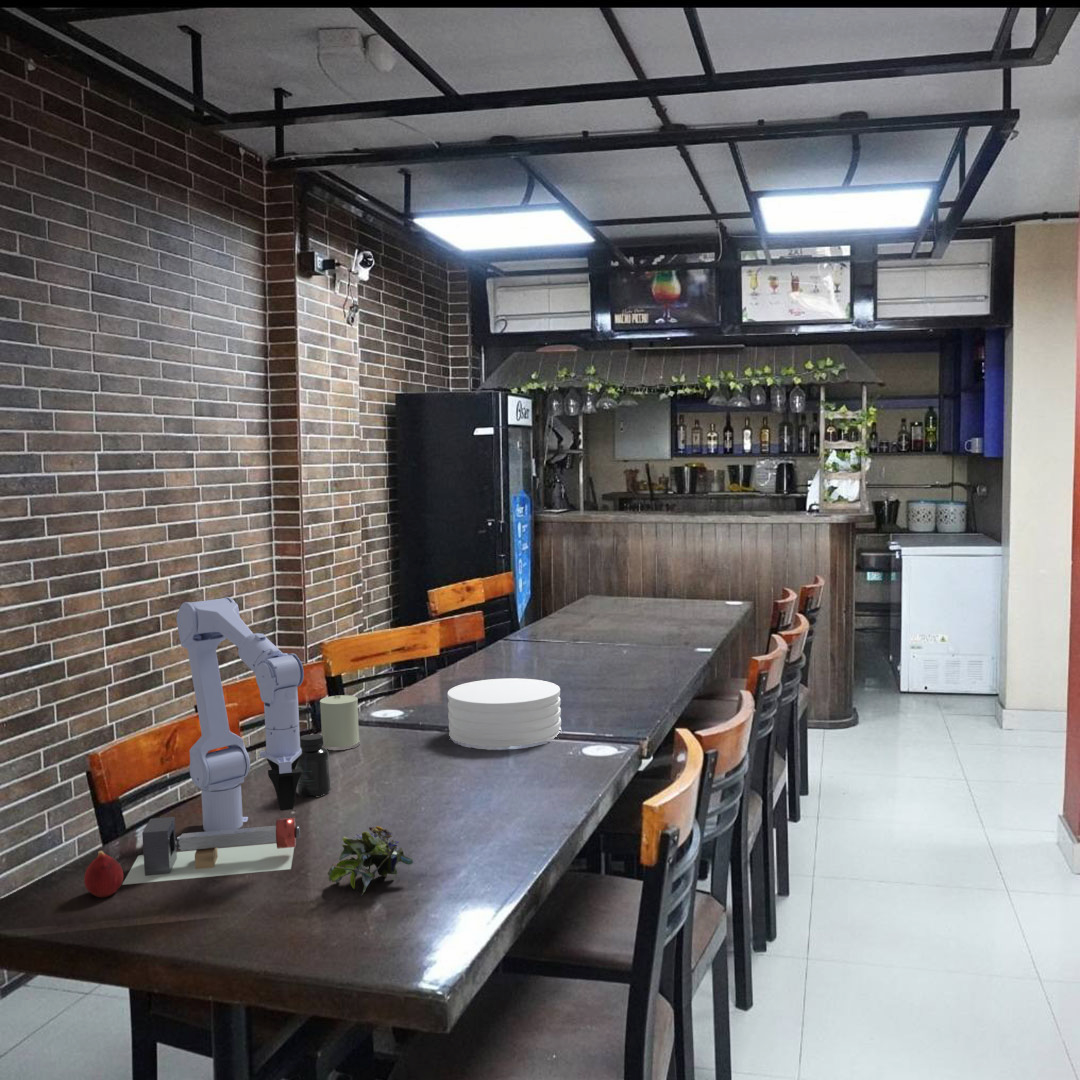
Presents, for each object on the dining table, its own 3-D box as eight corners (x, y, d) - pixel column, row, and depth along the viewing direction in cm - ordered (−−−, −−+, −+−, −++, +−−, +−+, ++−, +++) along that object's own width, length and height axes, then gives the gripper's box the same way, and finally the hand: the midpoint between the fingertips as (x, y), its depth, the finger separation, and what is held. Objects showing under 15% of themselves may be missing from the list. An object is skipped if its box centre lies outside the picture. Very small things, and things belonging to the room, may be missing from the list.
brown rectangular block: (199, 858, 183) (199, 844, 183) (217, 856, 184) (216, 842, 184) (195, 868, 178) (194, 854, 178) (213, 867, 179) (213, 853, 179)
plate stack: (583, 737, 259) (582, 691, 258) (486, 758, 243) (484, 709, 243) (521, 715, 282) (520, 673, 281) (429, 733, 267) (427, 689, 266)
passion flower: (383, 908, 175) (424, 849, 176) (363, 925, 165) (406, 862, 165) (331, 867, 178) (371, 808, 178) (307, 881, 167) (350, 818, 167)
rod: (177, 851, 183) (176, 823, 182) (301, 840, 186) (299, 813, 186) (172, 862, 178) (171, 833, 177) (299, 850, 181) (298, 822, 181)
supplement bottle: (314, 786, 226) (312, 731, 225) (337, 791, 222) (334, 735, 221) (290, 795, 220) (287, 738, 219) (312, 800, 216) (310, 743, 215)
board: (138, 861, 185) (138, 855, 185) (295, 847, 190) (295, 841, 190) (122, 890, 173) (122, 884, 173) (291, 874, 177) (290, 868, 177)
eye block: (152, 860, 183) (150, 818, 182) (176, 858, 184) (174, 816, 183) (144, 875, 176) (142, 832, 175) (169, 873, 177) (167, 830, 176)
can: (356, 739, 263) (354, 691, 262) (362, 748, 254) (360, 699, 253) (319, 743, 260) (317, 695, 259) (324, 752, 251) (321, 703, 250)
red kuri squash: (129, 891, 172) (126, 843, 172) (117, 906, 167) (113, 857, 166) (93, 892, 172) (90, 845, 172) (79, 907, 166) (76, 858, 166)
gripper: (257, 718, 188) (261, 792, 189) (258, 738, 174) (262, 818, 175) (298, 714, 189) (301, 788, 191) (302, 734, 176) (306, 813, 177)
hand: (286, 802), depth 183 cm, fingers open, 7 cm apart
